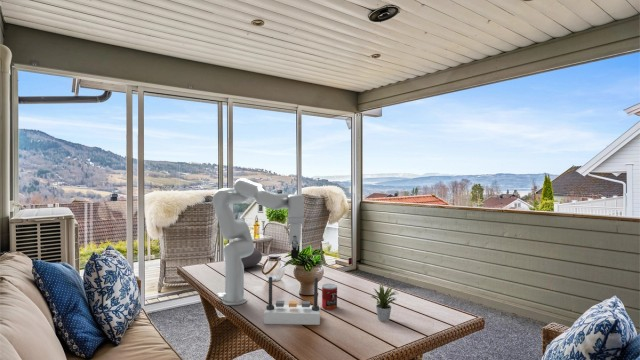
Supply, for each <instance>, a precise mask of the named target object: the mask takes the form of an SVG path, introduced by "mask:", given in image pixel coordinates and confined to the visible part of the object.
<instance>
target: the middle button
mask: <svg viewBox="0 0 640 360" xmlns="http://www.w3.org/2000/svg"><path fill="white" fill-rule="evenodd" d="M288 305H289V307H297V305H298V300H289V302H288Z"/></svg>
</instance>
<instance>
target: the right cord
mask: <svg viewBox="0 0 640 360" xmlns="http://www.w3.org/2000/svg"><path fill="white" fill-rule="evenodd" d="M318 283H319V279H318V277H314V278H313V305H311V306H312V310H313V311H319V310H320V311H321V306H320V305H318V300H319V299H318V297H319V295H318V290H319V288H318V286H319V284H318ZM319 306H320V307H319Z"/></svg>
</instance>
